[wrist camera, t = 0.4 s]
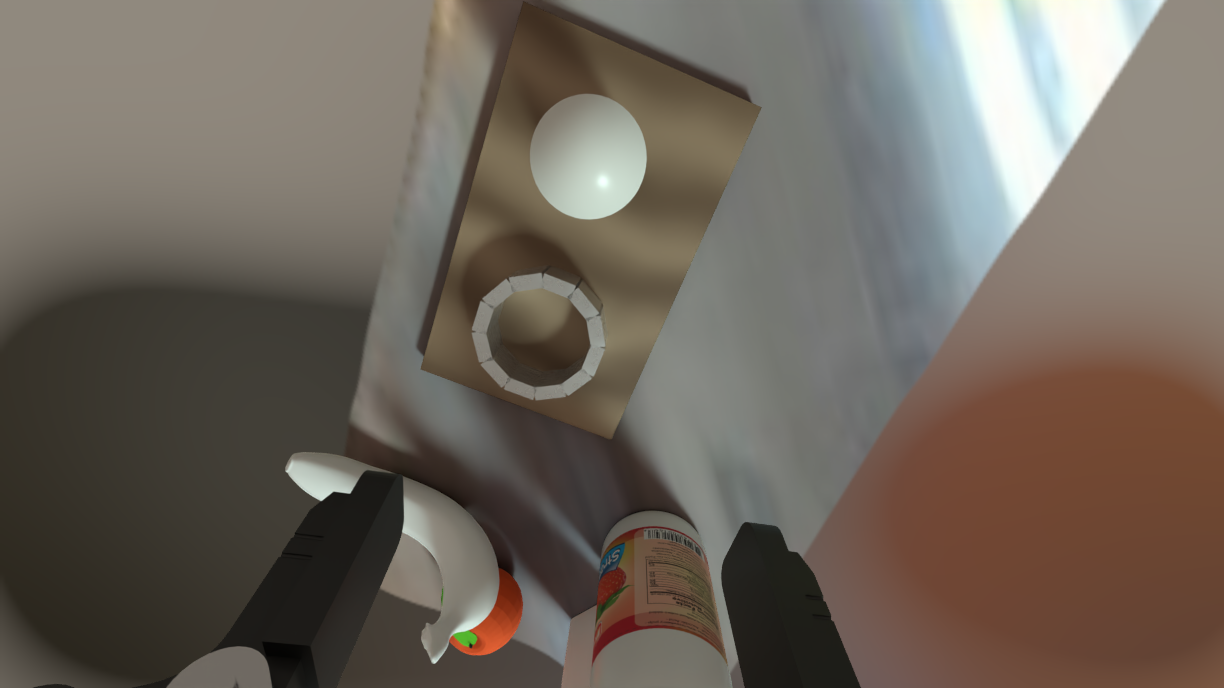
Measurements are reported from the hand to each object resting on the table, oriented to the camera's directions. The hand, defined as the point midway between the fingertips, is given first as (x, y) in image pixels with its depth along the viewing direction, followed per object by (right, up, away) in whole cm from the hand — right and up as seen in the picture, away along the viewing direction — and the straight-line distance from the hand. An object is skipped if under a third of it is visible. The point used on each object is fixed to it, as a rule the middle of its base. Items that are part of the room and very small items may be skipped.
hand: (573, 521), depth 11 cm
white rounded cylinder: (0, +16, +20) cm, 26 cm away
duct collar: (-4, +5, +24) cm, 25 cm away
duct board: (-2, +11, +24) cm, 26 cm away
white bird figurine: (-16, -9, +31) cm, 36 cm away
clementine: (-11, -18, +34) cm, 40 cm away
